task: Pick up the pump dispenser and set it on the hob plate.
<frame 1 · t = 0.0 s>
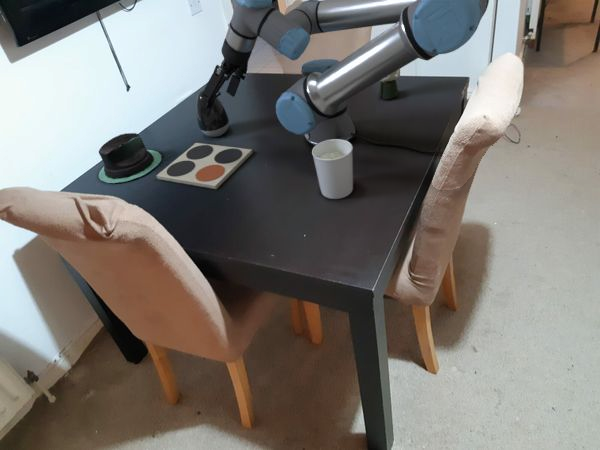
hand: (217, 103, 130), 15 cm above the table, tool tilted 35°, fingers open, 13 cm apart
hob plate: (205, 165, 133), on the table
black green hat: (130, 166, 140), on the table
character mug: (388, 97, 151), on the table
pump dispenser: (217, 133, 150), on the table
candle holder: (337, 190, 113), on the table
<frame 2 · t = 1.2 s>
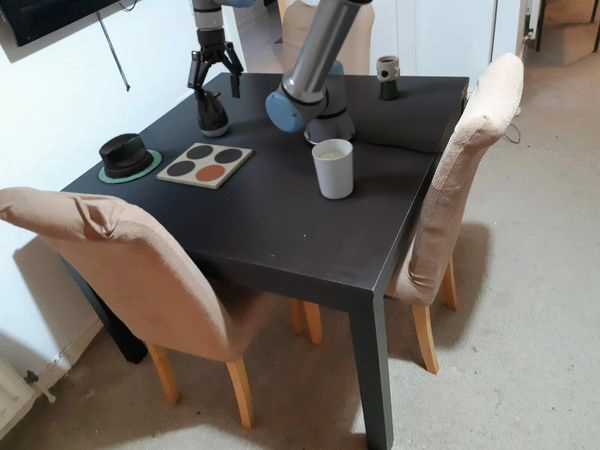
hand: (220, 104, 131), 14 cm above the table, tool pointing down, fingers open, 13 cm apart
nothing on the table moved.
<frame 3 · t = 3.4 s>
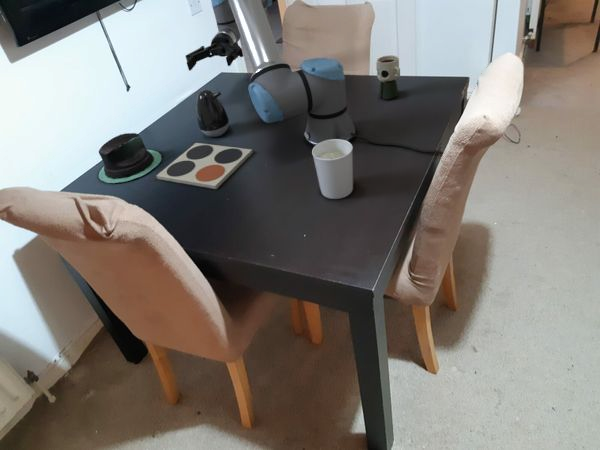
hand: (208, 64, 144), 20 cm above the table, tool horizontal, fingers open, 13 cm apart
nothing on the table moved.
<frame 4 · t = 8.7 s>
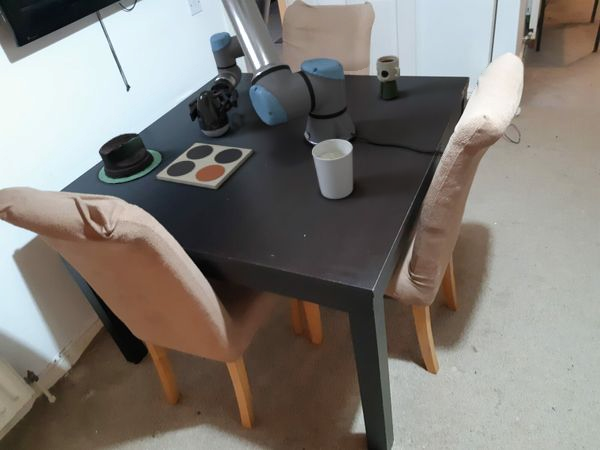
hand: (206, 116, 141), 9 cm above the table, tool horizontal, fingers closed on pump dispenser, 9 cm apart
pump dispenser: (217, 133, 149), on the table, touching gripper
everything else where it was.
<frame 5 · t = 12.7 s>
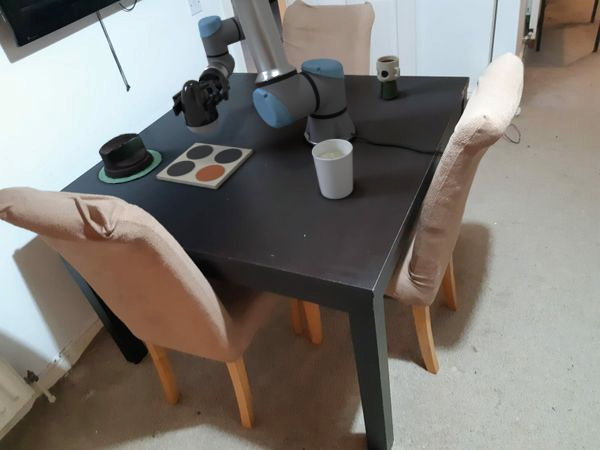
hand: (192, 110, 122), 18 cm above the table, tool horizontal, fingers closed on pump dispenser, 9 cm apart
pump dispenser: (205, 130, 131), point 9 cm above the table, touching gripper
everything else where it was.
when the fingers open (10 cm above the table, at t = 16.9 s): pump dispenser stays where it is, resting on hob plate.
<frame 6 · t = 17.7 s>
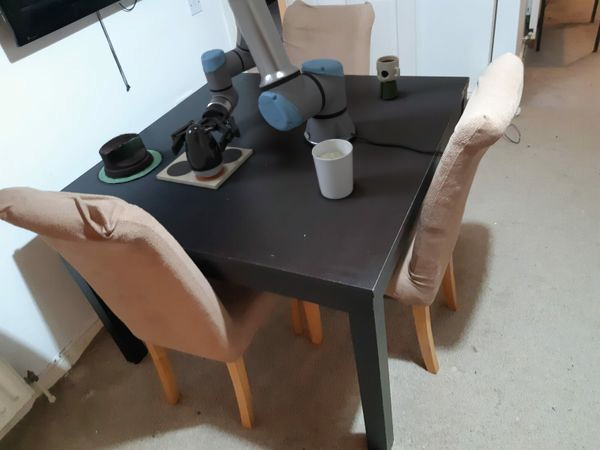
hand: (197, 149, 118), 11 cm above the table, tool horizontal, fingers open, 13 cm apart
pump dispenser: (210, 173, 127), point 1 cm above the table, touching hob plate
everything else where it was.
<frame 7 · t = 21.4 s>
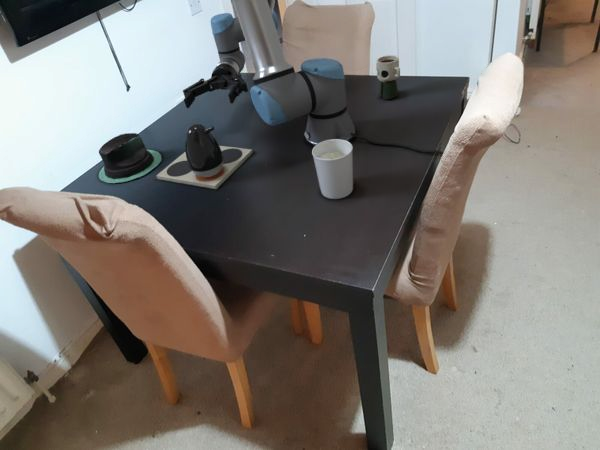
hand: (208, 101, 127), 17 cm above the table, tool horizontal, fingers open, 13 cm apart
nothing on the table moved.
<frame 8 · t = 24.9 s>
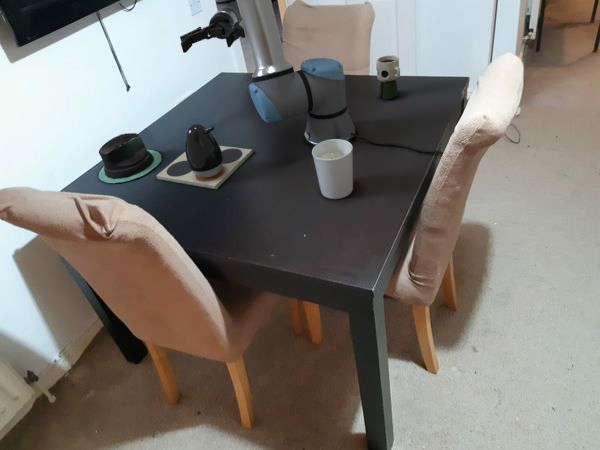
hand: (205, 45, 126), 30 cm above the table, tool horizontal, fingers open, 13 cm apart
nothing on the table moved.
at the end: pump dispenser 0.1 cm from the target spot on the hob plate, point 1.2 cm above the hob plate's base; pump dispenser tilted 0°; the gripper is holding nothing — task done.
